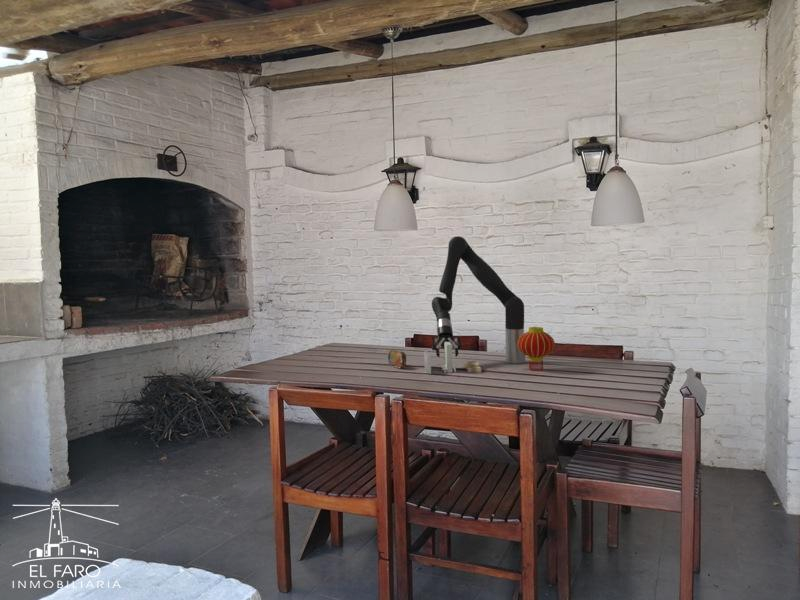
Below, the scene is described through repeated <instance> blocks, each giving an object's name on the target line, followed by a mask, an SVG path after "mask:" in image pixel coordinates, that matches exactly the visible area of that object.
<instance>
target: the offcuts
mask: <svg viewBox="0 0 800 600" xmlns="http://www.w3.org/2000/svg"><path fill="white" fill-rule="evenodd" d="M463 366H464V369H465V368H466V369H467V370H466V369H465V370H466V371H467V372H468V373H469V372H474V373H482V367H480V364H479V362H478V360H469V361H468V360H467V361H466V363H463Z"/></svg>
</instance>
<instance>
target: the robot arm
mask: <svg viewBox="0 0 800 600" xmlns="http://www.w3.org/2000/svg"><path fill="white" fill-rule="evenodd" d="M447 246H448V249H447V258H446V263H445V266H444V271H443V273H442V276H441V277H442V278H441V281H440V284H439V289H438V290H439V292H440V293H441V294H443V295H445V297H442V296H434V297H433V299H432V300H431V308H432V311H433V313H434V315H435V317H436V332H437V333H436V334H437V338H435V337H432V338H431V350H432V351H435V353H436V356H437V357H438V358H440V349H441V348H442V347H443V348H444V342H450V343H451V344H452V350H454V356H455V357H458V356H459V351H460V350H462V341H461V337H459V336H458V337H456V338H455V337H454V334H453V333H454V332H453V324H452V321H451V314H450V312H451V310H452V308H453V291H454V287H455V285H456V284H455V283H456V279H457V274H458V268H459V264H460V260H462V261H463V262H464V264H466V266H467V268H468V269H469V270H470V272H471V273H472V275H473V276H474V277H475V278H476V280H477V281H478V282H479V283H480V284H481V285H482V286H483V287H484V288H485V289H486V290H487V291H488V292H490V293H491V294H493V295H494V296H495V297H496V298H497V299H498V301H500V303H501V304H502V305H503V306H504V309H505V315H504V316H505V363H508V364H523V363H526V355H524V354H523V353H522V352H521V351H520V350H519V348H518V345H517V342H518V339H519V338H520V336H521V335H523V334H524V333H525V304H524V302H523V300H522V299H521V298H520V297H518V296H517V295H516V293H513V291H512V290H510V288H509V287H507V285H506V284H505V283H504V281H503V280H502V278H501V277H500V276H499V275H498V273H497V272H496V271H495V270H494V269H493V268H492V267H491V266H490V264H488V263H487V262H486V261H485V260H484V259H482V258H481V256H479V255H478V254H477V253H476V252H475V251H474V249H473V248H472V247H471V245H470V244H469V243H468V242H467V240H466V239H465V238H464V237H463V236H454V237H452V238H451V239H450V240H449V242H448V245H447ZM436 343H437V345H436ZM435 345H436V346H435Z"/></svg>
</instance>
